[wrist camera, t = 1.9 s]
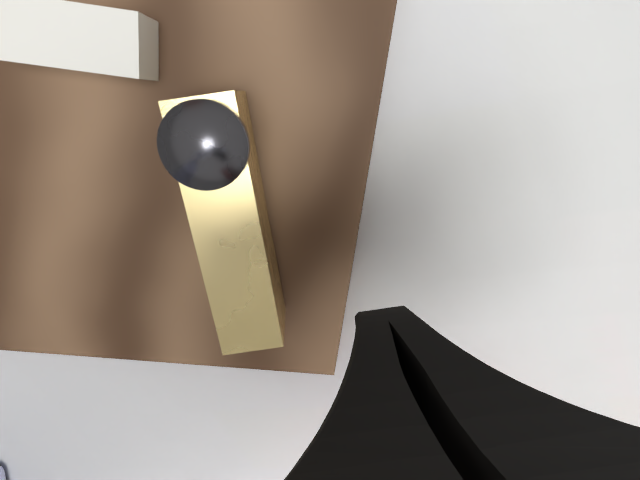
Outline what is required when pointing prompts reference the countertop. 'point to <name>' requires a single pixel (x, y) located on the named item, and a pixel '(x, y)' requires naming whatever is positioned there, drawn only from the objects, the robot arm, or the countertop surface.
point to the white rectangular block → (79, 37)
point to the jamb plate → (164, 191)
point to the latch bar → (226, 215)
